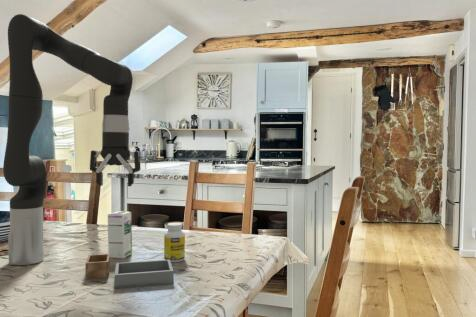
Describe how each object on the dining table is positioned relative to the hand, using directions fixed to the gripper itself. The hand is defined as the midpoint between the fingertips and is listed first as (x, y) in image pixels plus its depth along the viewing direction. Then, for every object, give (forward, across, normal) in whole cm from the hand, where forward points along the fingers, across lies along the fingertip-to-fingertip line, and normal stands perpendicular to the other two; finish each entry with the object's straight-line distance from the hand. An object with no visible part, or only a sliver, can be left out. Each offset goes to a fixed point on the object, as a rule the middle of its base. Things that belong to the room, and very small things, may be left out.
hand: (115, 185), depth 123 cm
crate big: (+24, +10, -11) cm, 29 cm away
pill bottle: (+25, +17, +8) cm, 31 cm away
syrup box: (+25, -2, +14) cm, 28 cm away
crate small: (+25, -3, -5) cm, 25 cm away
